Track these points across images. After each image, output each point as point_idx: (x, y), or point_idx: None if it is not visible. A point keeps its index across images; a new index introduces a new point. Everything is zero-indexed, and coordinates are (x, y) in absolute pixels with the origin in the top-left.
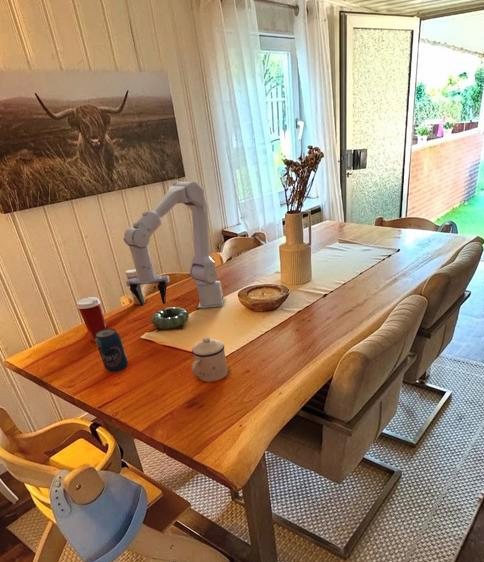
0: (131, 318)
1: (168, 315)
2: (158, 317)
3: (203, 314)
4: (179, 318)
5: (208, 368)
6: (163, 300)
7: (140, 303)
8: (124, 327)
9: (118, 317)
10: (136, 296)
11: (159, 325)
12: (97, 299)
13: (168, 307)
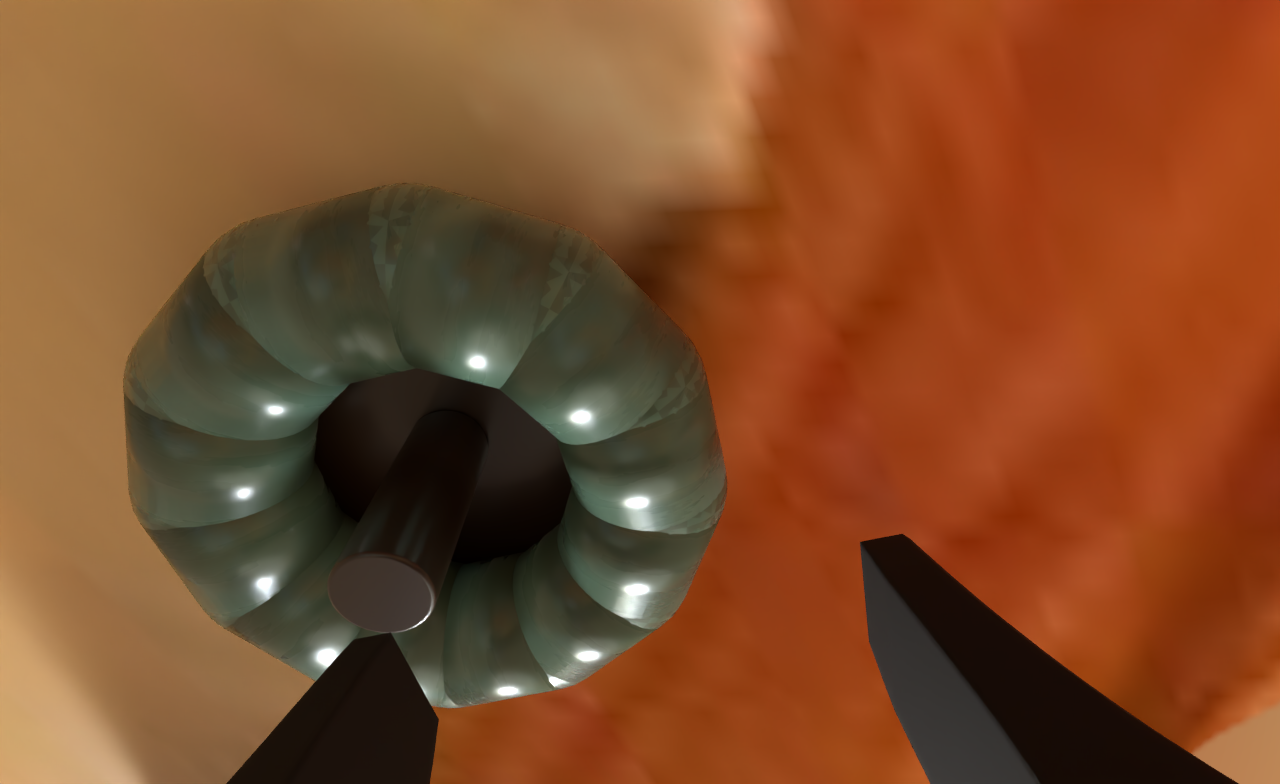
0: (1089, 561)
1: (417, 478)
2: (520, 365)
3: (240, 673)
4: (125, 377)
5: None
6: (304, 704)
7: (938, 567)
8: (1132, 327)
9: (1261, 577)
10: (1147, 740)
11: (457, 195)
12: None
13: (399, 617)
